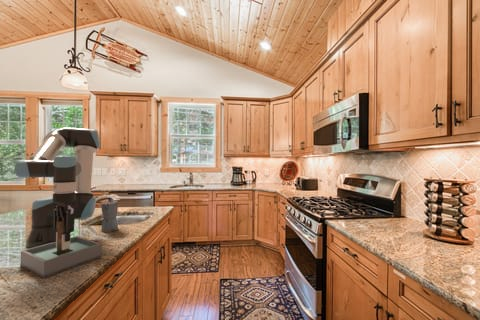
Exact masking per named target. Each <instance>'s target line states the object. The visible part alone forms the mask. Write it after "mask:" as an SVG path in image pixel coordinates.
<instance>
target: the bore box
mask: <svg viewBox="0 0 480 320" xmlns="http://www.w3.org/2000/svg"><path fill="white" fill-rule="evenodd" d="M102 246H103V244H102V242H98V241H96V240H95V241H94V240H92V239H87V238H84V237H81V236H78V235H76V236H71V237H70V248H69V253H65V254H62V255H59V256H58V255H57V248H56V242H53V243H49V244H45V245H41V246H37V247H29V248H27V249H22V250H20V260H19V261H20V263H19V264H20V267H21V268H23V269H25V270H27V271H29V272H31V273H33V274H35V275H36V276H38V277H40V278H42V279H43V278H44V279H46V278H49V277H51V276H52V277H53V276H55V275H57V274H60V273H63V272H66V271H68V270H71V269H73V268H76V267H79V266H81V265H84V264H86V263H90V262H93V261H95V260H98V259H101V258H102V253H103V252H102V251H103V250H102Z"/></svg>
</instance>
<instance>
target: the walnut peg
mask: <svg viewBox="0 0 480 320" xmlns="http://www.w3.org/2000/svg"><path fill="white" fill-rule="evenodd" d="M61 233H63V221H59V222H58V226H57V255H58V256H59V255H62V254H65V253H69V248H68V249H65V250H62V234H61Z"/></svg>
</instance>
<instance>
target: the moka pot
mask: <svg viewBox="0 0 480 320" xmlns="http://www.w3.org/2000/svg"><path fill="white" fill-rule="evenodd" d="M107 199H108V200H107V201H103V202H101V203H100V207H101V215H102V225H101V232H102V233H111V232H115V230H116V231H118V230H119V223H118V219H117V215H118V210H119V201H117V200H114V199H113V198H110V197H109V198H107Z"/></svg>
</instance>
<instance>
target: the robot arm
mask: <svg viewBox="0 0 480 320" xmlns="http://www.w3.org/2000/svg"><path fill="white" fill-rule="evenodd" d="M100 143H101V142H100V137H99V132H98V130H97V129H93V128H79V127H60V128H56V129H54V130H52V131H50V132H48V133H46V135H45V136H44V137H43V142H42V143H40V144H41V145H39V147H38V148H37V149H36V150H35V151H34V153H33V154H32V155H31V156H30V157H29V158H28V159H20V160H17V161H16V162H15V164H14V169H13V170H14V174H15V176H16V177H17V178H28V179H30V178H33V179H34V178H52V183H53V184H52V185H51V188H52V192H53V193H52V196H47V197H42V198H38V199H35V200H33V202H32V204H31V209H30V210H31V229H30V232H29V233H28V237H27V239H26V241H25V247H27V248H34V247H37V246H41V245H45V244H49V243H53V242H56V248H57V226H58V222H59V221H63V233H61V234H62V250H65V249H68V248H70V238H71V237H72V236H71V233H74V232H75V220H84V219H90V218H92V216H94V214H95V213H94V212H95V209H96V206H97V205H96V204H97V197H96V196H94V193H93V192H92V191H91V189H92V178H93V177H92V176H93V165H94V164H93V161H94V154H95V153H96V152H98V151H97V149H100V148H101V147H100V146H101V145H100ZM63 148H72V150H73V151H74V152H75V156H73V155H58V153H59V151H60V150H63Z"/></svg>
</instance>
